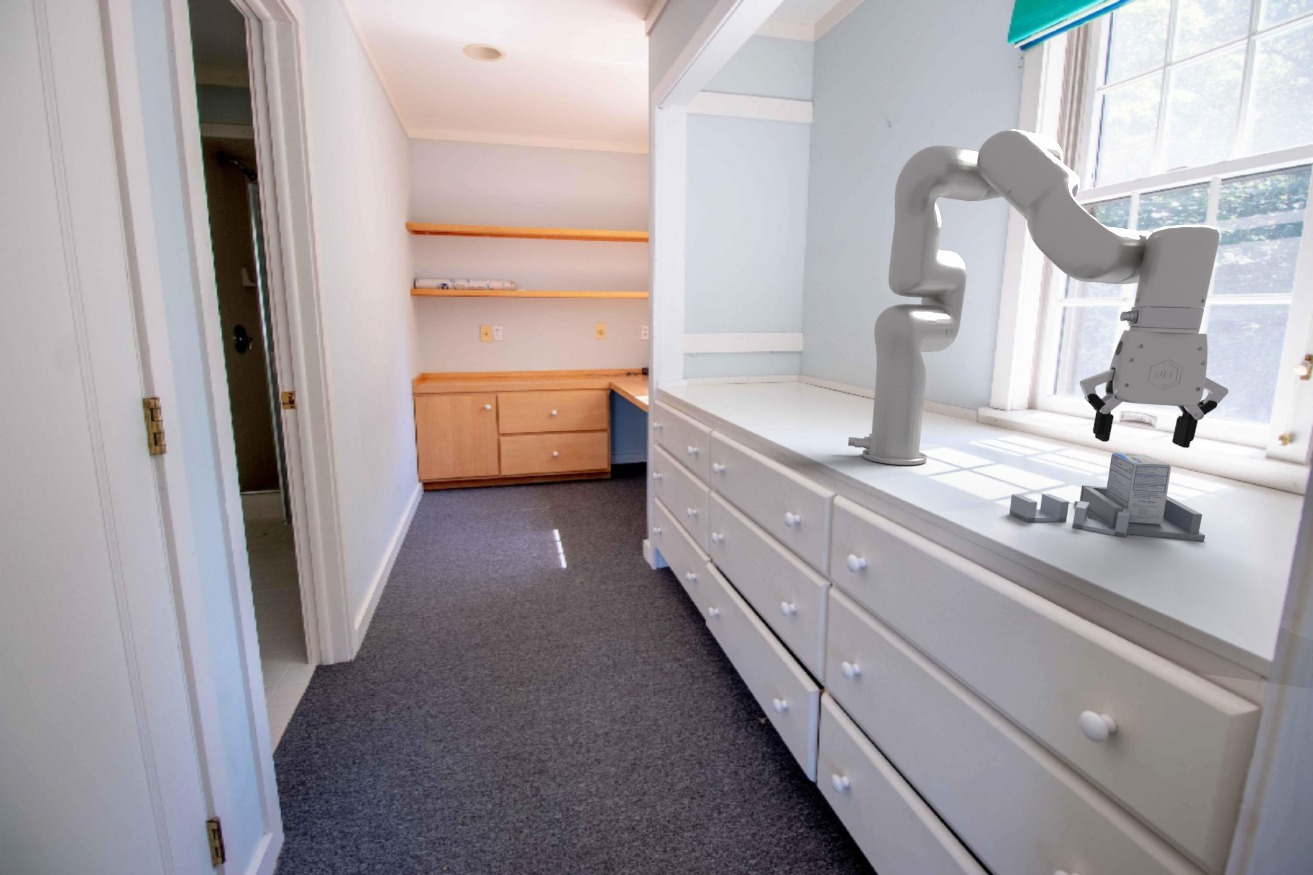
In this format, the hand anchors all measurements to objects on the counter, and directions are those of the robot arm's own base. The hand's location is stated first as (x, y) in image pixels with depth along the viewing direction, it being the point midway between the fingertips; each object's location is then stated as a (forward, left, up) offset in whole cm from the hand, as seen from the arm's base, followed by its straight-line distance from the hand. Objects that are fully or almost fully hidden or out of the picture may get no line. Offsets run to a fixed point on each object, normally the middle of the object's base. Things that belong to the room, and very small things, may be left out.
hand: (1140, 442), depth 88 cm
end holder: (+1, -1, -12) cm, 12 cm away
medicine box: (0, -1, -11) cm, 11 cm away
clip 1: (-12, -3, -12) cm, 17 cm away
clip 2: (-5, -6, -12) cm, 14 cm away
